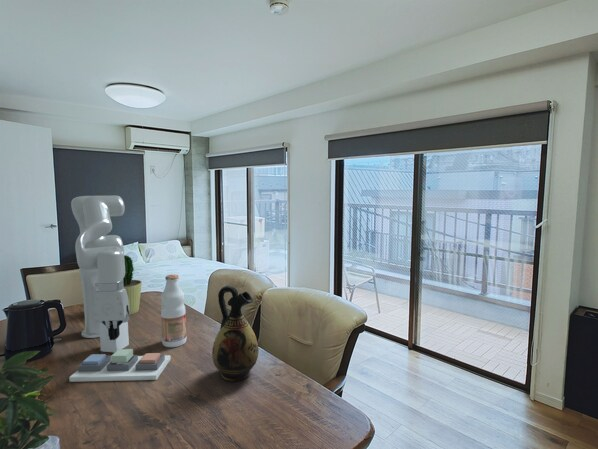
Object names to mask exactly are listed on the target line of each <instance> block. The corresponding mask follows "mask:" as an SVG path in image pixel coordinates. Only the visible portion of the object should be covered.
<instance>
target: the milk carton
mask: <svg viewBox="0 0 598 449" xmlns="http://www.w3.org/2000/svg"><path fill="white" fill-rule="evenodd" d="M113 322H114V321H113ZM99 330H100V337H99V344H100V352H105V353H113V354H114V353H115V352H116V351H117V350H118V349H126V348H127V347H129V345H130V341H129V340H130V339H129V336H130V335H129V321H128V322H125V323H122V324H121V325H120V326H119V332H120V335H119V337H118V338H117V339H115V340H110V339H109V336H108V329H107V328H106V326H105V325H104V324H103V323H99Z"/></svg>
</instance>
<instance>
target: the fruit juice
mask: <svg viewBox="0 0 598 449" xmlns="http://www.w3.org/2000/svg"><path fill="white" fill-rule="evenodd" d="M164 279H165V282H166V283H165V288H164V289H163V291H162V293H161V295H160V302H161V310H160V317H161V318H160V319H161V320H160V322H161V324H160V325H161V343H162V346H163V347H166V348H177V347H178V348H179V347H181V346H183V345H184V344H186V342H187V339H188V336H187V316H186V315H187V314H186V312H187V311H186V305H185V304H184V303H185V293H184V291H183V290H182V288H181V287H180V284H179V281H178V280H179V274H168V275H166V276H165V278H164Z"/></svg>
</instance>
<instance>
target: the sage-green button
mask: <svg viewBox="0 0 598 449" xmlns="http://www.w3.org/2000/svg"><path fill="white" fill-rule="evenodd" d="M133 355H134V349H133V348H123V349H118V350H117V351H116V352H115V353H114V352H113V353H112V355H110V356H111V360H112V363H127V362H128V361H129V360H130V359H131V358H132V356H133Z"/></svg>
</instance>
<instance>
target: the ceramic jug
mask: <svg viewBox="0 0 598 449" xmlns="http://www.w3.org/2000/svg"><path fill="white" fill-rule="evenodd" d="M226 293H231V296H232V297H231V298H229V300H228V301H227V305H226V301H225V294H226ZM217 298H218V299H217V300H218V304H219V308H220V312H221V314H222V320H221V322H220V326H219V330H218V332H217V335H216V336H215V339H214V341H213V345H212V352H211V353H212V354H211V355H212V362H213V364H214V366H215V367H216V369H217V370H218V371H219V372H220V376H221V377H222V379H224V380H225V381H228V382H232V383H238V382H240V381H243V380H245V379H248V378H249V375H250V371H251V370H252V369H253V368H254V366H255V365H256V364H257V361H258V359H259V350H260V349H259V344H258V339H257V336H256V334H255V332H254V330H253V328H252V326H251V325H250V323H249V322H248V320H247V319H246V318H245V316H244V314H243V312H242V307H244V306H247V305H249V304H252V303H253V302H254V298H253V297H252V295H251V294H250V293H249V292H247V291H244V292H240V293H239V292H238V290H237V288H236V287H234V286H231V285H225V286H223V287H221V289H220V290H219V291H218V295H217ZM227 306H229V307H230V311H229V313H228V309H227Z"/></svg>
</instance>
